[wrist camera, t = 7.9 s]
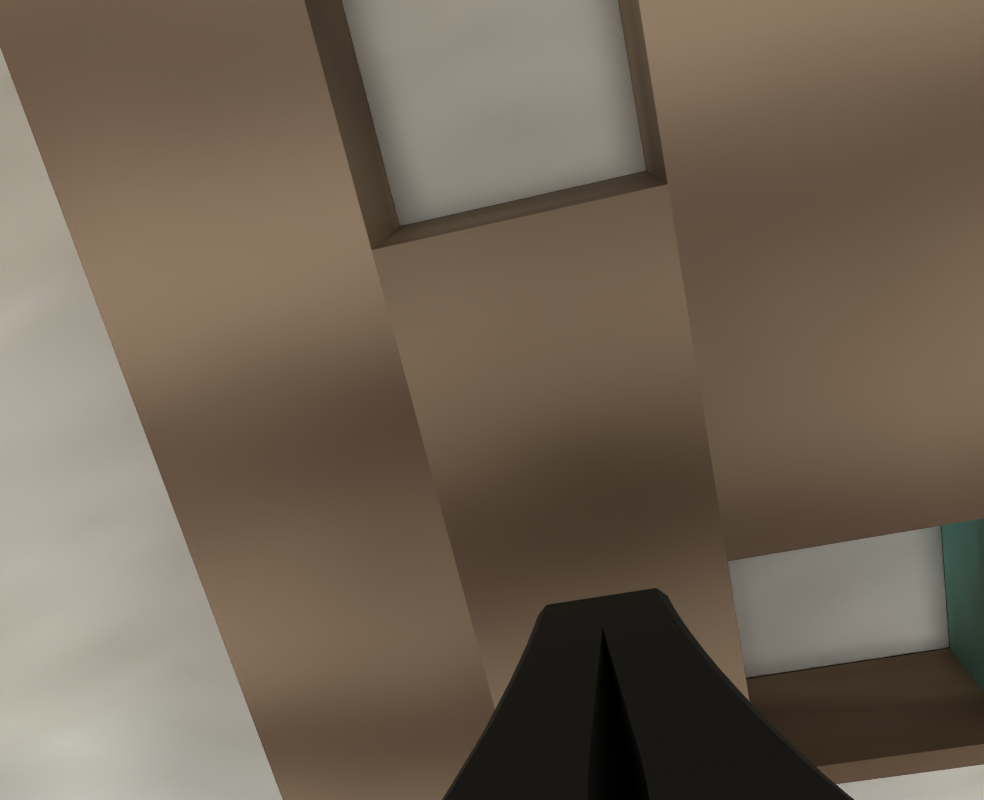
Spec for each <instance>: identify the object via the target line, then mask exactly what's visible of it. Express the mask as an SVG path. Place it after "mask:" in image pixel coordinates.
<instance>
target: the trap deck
mask: <svg viewBox="0 0 984 800" xmlns="http://www.w3.org/2000/svg"><path fill="white" fill-rule="evenodd" d="M618 1H619V7H620V13H621V19H622V26H623V32H624V38H625V44H626V50H627V56H628V62H629V68H630V74H631V80H632V86H633V92H634V98H635V104H636V110H637V116H638V123H639V129H640V135H641V141H642V147H643V153H644V159H645V165H646V171H644V172H639V173H635V174H630V175H626V176H621V177H617V178H613V179H608V180H604V181H599V182H595V183H590V184H586V185H582V186H577V187H573V188H568V189H564V190H559V191H555V192H551V193H546V194H542V195H537V196H533V197H528V198H524V199H519V200H515V201H511V202H506V203H502V204H497V205H493V206H488V207H484V208H480V209H475V210H471V211H466V212H462V213H457V214H453V215H449V216H444V217H440V218H435V219H431V220H426V221H422V222H417V223H413V224H409V225H404V226H400V227H399V223H398V219H397V215H396V211H395V207H394V203H393V200H392V196H391V192H390V188H389V184H388V180H387V176H386V172H385V168H384V165H383V161H382V157H381V153H380V149H379V145H378V141H377V137H376V133H375V129H374V126H373V122H372V118H371V114H370V110H369V106H368V102H367V98H366V94H365V91H364V87H363V83H362V79H361V75H360V71H359V67H358V63H357V59H356V55H355V52H354V48H353V44H352V40H351V36H350V32H349V28H348V24H347V20H346V17H345V13H344V9H343V5H342V1H341V0H0V48H1V50H2V53H3V56H4V58H5V61H6V64H7V66H8V69H9V72H10V74H11V77H12V80H13V82H14V85H15V88H16V90H17V93H18V96H19V98H20V101H21V104H22V106H23V109H24V112H25V114H26V117H27V120H28V122H29V125H30V128H31V130H32V133H33V136H34V138H35V141H36V144H37V146H38V149H39V152H40V154H41V157H42V160H43V162H44V165H45V168H46V170H47V173H48V175H49V178H50V181H51V183H52V186H53V189H54V191H55V194H56V197H57V199H58V202H59V205H60V207H61V210H62V213H63V215H64V218H65V221H66V223H67V226H68V229H69V231H70V234H71V237H72V239H73V242H74V245H75V247H76V250H77V253H78V255H79V258H80V261H81V263H82V266H83V269H84V271H85V274H86V277H87V279H88V282H89V285H90V287H91V290H92V293H93V295H94V298H95V301H96V303H97V306H98V309H99V311H100V314H101V317H102V319H103V322H104V325H105V327H106V330H107V333H108V335H109V338H110V341H111V343H112V346H113V349H114V351H115V354H116V357H117V359H118V362H119V365H120V367H121V370H122V373H123V375H124V378H125V380H126V383H127V386H128V388H129V391H130V394H131V396H132V399H133V402H134V404H135V407H136V410H137V412H138V415H139V418H140V420H141V423H142V426H143V428H144V431H145V434H146V436H147V439H148V442H149V444H150V447H151V450H152V452H153V455H154V458H155V460H156V463H157V466H158V468H159V471H160V474H161V476H162V479H163V482H164V484H165V487H166V490H167V492H168V495H169V498H170V500H171V503H172V506H173V508H174V511H175V514H176V516H177V519H178V522H179V524H180V527H181V530H182V532H183V535H184V538H185V540H186V543H187V546H188V548H189V551H190V554H191V556H192V559H193V562H194V564H195V567H196V570H197V572H198V575H199V578H200V580H201V583H202V586H203V588H204V591H205V593H206V596H207V599H208V601H209V604H210V607H211V609H212V612H213V615H214V617H215V620H216V623H217V625H218V628H219V631H220V633H221V636H222V639H223V641H224V644H225V647H226V649H227V652H228V655H229V657H230V660H231V663H232V665H233V668H234V671H235V673H236V676H237V679H238V681H239V684H240V687H241V689H242V692H243V695H244V697H245V700H246V703H247V705H248V708H249V711H250V713H251V716H252V719H253V721H254V724H255V727H256V729H257V732H258V735H259V737H260V740H261V743H262V745H263V748H264V751H265V753H266V756H267V759H268V761H269V764H270V767H271V769H272V772H273V775H274V777H275V780H276V783H277V785H278V788H279V791H280V793H281V796H282V798H283V800H442V799H443V797H444V796H445V794H446V792H447V791H448V789H449V788H450V786H451V784H452V783H453V781H454V779H455V778H456V776H457V774H458V773H459V771H460V770H461V768H462V766H463V765H464V763H465V761H466V760H467V758H468V756H469V755H470V753H471V752H472V750H473V748H474V747H475V745H476V743H477V742H478V740H479V738H480V737H481V735H482V733H483V731H484V729H485V728H486V726H487V724H488V722H489V720H490V718H491V716H492V714H493V712H494V711H495V709H496V707H497V705H498V703H499V701H500V699H501V697H502V695H503V693H504V691H505V690H506V688H507V686H508V684H509V682H510V680H511V678H512V675H513V673H514V671H515V669H516V667H517V665H518V663H519V661H520V658H521V656H522V654H523V652H524V649H525V647H526V645H527V643H528V640H529V638H530V635H531V633H532V630H533V628H534V625H535V622H536V620H537V617H538V615H539V613H540V612H541V611H542V610H543V608H544V607H545V606H546V605H548V604H554V603H561V602H567V601H574V600H580V599H587V598H593V597H600V596H606V595H613V594H620V593H626V592H633V591H639V590H646V589H652V588H657V589H659V590H660V591H662V592H663V593H664V594H666V595H667V596H668V597H669V599H670V601H671V603H672V605H673V607H674V608H675V610H676V612H677V613H678V615H679V616H680V618H681V619H682V621H683V622H684V624H685V625H686V626H687V628H688V629H689V631H690V632H691V633H692V635H693V636H694V637H695V639H696V640H697V641H698V642H699V644H700V645H701V646H702V648H703V649H704V650H705V651H706V653H707V654H708V655H709V656H710V658H711V659H712V660H713V661H714V662H715V664H716V665H717V666H718V667H719V668H720V669H721V671H722V672H723V673H724V674H725V675H726V676H727V677H728V678H729V679H730V681H731V682H732V683H733V684H734V685H735V686H736V687H737V688H738V689H739V691H740V692H741V693H742V694H743V695H744V696H745V697H746V698H747V699H748V701H749V702H750V703H751V704H752V705H753V706H754V707H755V708H756V709H757V710H758V711H759V712H760V713H761V714H762V715H763V716H764V717H765V718H766V719H767V720H768V721H769V722H770V723H771V724H772V725H773V726H774V727H775V728H776V729H777V730H778V731H779V732H780V733H781V734H782V735H783V736H784V737H785V738H786V739H787V740H788V741H789V742H790V743H791V744H792V745H793V746H794V747H795V748H796V749H797V750H798V751H800V752H801V753H802V754H803V755H804V756H805V757H806V758H807V759H808V760H809V761H810V762H811V763H812V764H814V765H815V766H816V767H817V768H818V769H819V770H820V771H821V772H822V773H823V774H825V775H826V776H827V777H828V778H829V779H830V780H831V781H833V782H834V783H835V784H840V783H847V782H855V781H862V780H870V779H877V778H885V777H892V776H900V775H907V774H915V773H922V772H930V771H937V770H944V769H952V768H959V767H967V766H974V765H982V764H984V0H618ZM940 525H941V527H942V541H943V556H944V570H945V584H946V598H947V613H948V627H949V641H950V648H949V649H942V650H935V651H929V652H922V653H916V654H909V655H902V656H896V657H889V658H882V659H876V660H869V661H862V662H856V663H849V664H842V665H836V666H829V667H823V668H816V669H809V670H803V671H796V672H789V673H783V674H776V675H769V676H763V677H756V678H749V679H746V676H745V670H744V663H743V657H742V651H741V644H740V638H739V632H738V625H737V619H736V613H735V606H734V600H733V594H732V587H731V581H730V575H729V568H728V562H727V561H731V560H737V559H743V558H749V557H755V556H761V555H767V554H773V553H779V552H785V551H791V550H797V549H803V548H809V547H815V546H821V545H827V544H833V543H839V542H845V541H851V540H857V539H863V538H869V537H875V536H881V535H887V534H893V533H899V532H905V531H910V530H916V529H922V528H928V527H934V526H940Z"/></svg>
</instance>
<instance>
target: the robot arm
mask: <svg viewBox="0 0 984 800" xmlns="http://www.w3.org/2000/svg"><path fill="white" fill-rule="evenodd" d="M442 800H854V799H853V798H851V797H850V796H849V795H848V794H846V793H845V792H844V791H843V790H842V789H841V788H839V787H838V786H837V785H836V784H835V783H834V782H833V781H831V780H830V779H829V778H828V777H827V776H826V775H825V774H823V773H822V772H821V771H820V770H819V769H818V768H817V767H816V766H815V765H814V764H812V763H811V762H810V761H809V760H808V759H807V758H806V757H805V756H804V755H803V754H802V753H801V752H800V751H798V750H797V749H796V748H795V747H794V746H793V745H792V744H791V743H790V742H789V741H788V740H787V739H786V738H785V737H784V736H783V735H782V734H781V733H780V732H779V731H778V730H777V729H776V728H775V727H774V726H773V725H772V724H771V723H770V722H769V721H768V720H767V719H766V718H765V717H764V716H763V715H762V714H761V713H760V712H759V711H758V710H757V709H756V708H755V707H754V706H753V705H752V704H751V703H750V702H749V701H748V699H747V698H746V697H745V696H744V695H743V694H742V693H741V692H740V691H739V689H738V688H737V687H736V686H735V685H734V684H733V683H732V682H731V681H730V679H729V678H728V677H727V676H726V675H725V674H724V673H723V672H722V671H721V669H720V668H719V667H718V666H717V665H716V664H715V662H714V661H713V660H712V659H711V658H710V656H709V655H708V654H707V653H706V651H705V650H704V649H703V648H702V646H701V645H700V644H699V642H698V641H697V640H696V639H695V637H694V636H693V635H692V633H691V632H690V631H689V629H688V628H687V626H686V625H685V624H684V622H683V621H682V619H681V618H680V616H679V615H678V613H677V612H676V610H675V608H674V607H673V605H672V603H671V601H670V599H669V597H668V596H667V595H666V594H664V593H663V592H662V591H660V590H659V589H657V588H652V589H646V590H639V591H633V592H626V593H620V594H613V595H606V596H600V597H593V598H587V599H580V600H574V601H567V602H561V603H554V604H548V605H546V606H545V607H544V608H543V610H542V611H541V612H540V613H539V615H538V617H537V620H536V622H535V625H534V628H533V630H532V633H531V635H530V638H529V640H528V643H527V645H526V647H525V649H524V652H523V654H522V656H521V658H520V661H519V663H518V665H517V667H516V669H515V671H514V673H513V675H512V678H511V680H510V682H509V684H508V686H507V688H506V690H505V691H504V693H503V695H502V697H501V699H500V701H499V703H498V705H497V707H496V709H495V711H494V712H493V714H492V716H491V718H490V720H489V722H488V724H487V726H486V728H485V729H484V731H483V733H482V735H481V737H480V738H479V740H478V742H477V743H476V745H475V747H474V748H473V750H472V752H471V753H470V755H469V756H468V758H467V760H466V761H465V763H464V765H463V766H462V768H461V770H460V771H459V773H458V774H457V776H456V778H455V779H454V781H453V783H452V784H451V786H450V788H449V789H448V791H447V792H446V794H445V796H444V797H443V799H442Z"/></svg>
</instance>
